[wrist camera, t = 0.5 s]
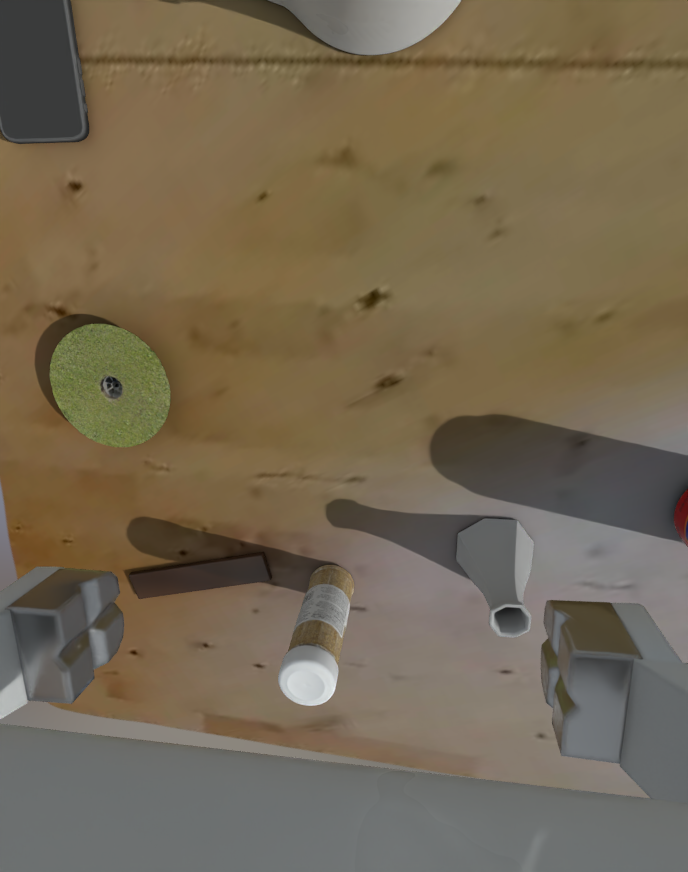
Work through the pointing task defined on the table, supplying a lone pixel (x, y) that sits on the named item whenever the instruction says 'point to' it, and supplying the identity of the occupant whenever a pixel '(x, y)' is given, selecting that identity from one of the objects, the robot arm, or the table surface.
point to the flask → (499, 570)
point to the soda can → (682, 517)
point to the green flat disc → (110, 385)
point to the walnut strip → (201, 575)
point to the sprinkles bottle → (318, 638)
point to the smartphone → (40, 73)
